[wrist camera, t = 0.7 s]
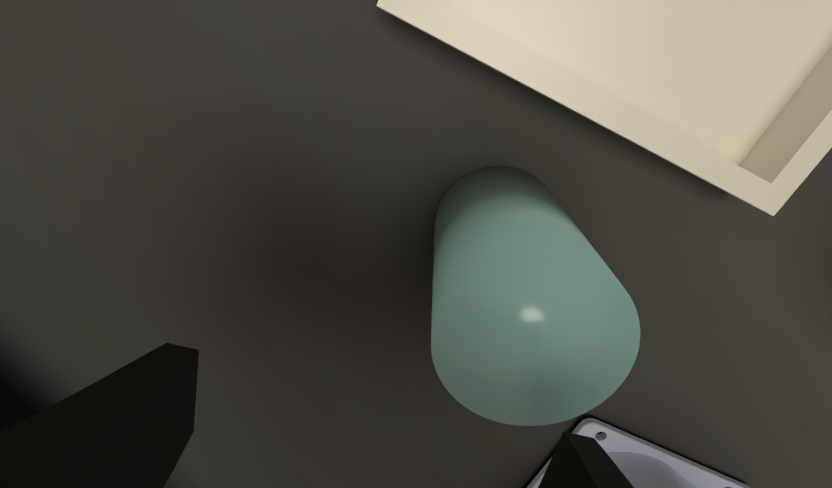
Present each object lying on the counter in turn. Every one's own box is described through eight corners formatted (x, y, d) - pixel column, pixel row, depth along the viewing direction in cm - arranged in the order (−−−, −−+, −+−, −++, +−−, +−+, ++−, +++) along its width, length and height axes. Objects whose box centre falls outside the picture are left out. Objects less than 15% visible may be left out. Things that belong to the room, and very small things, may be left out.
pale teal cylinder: (583, 200, 18) (685, 307, 10) (518, 299, 20) (565, 451, 12) (470, 144, 17) (494, 215, 10) (414, 251, 19) (397, 381, 12)
